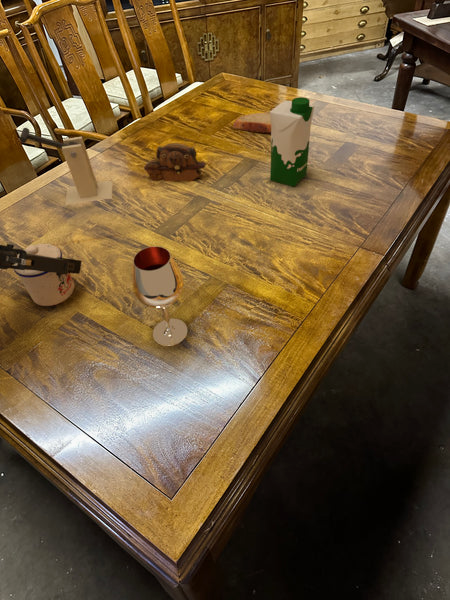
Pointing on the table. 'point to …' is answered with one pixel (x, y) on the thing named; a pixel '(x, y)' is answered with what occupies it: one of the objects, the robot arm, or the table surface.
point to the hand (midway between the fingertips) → (58, 262)
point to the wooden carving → (175, 163)
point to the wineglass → (159, 290)
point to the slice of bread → (254, 122)
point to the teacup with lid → (46, 278)
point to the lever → (41, 139)
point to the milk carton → (290, 140)
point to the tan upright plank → (83, 175)
